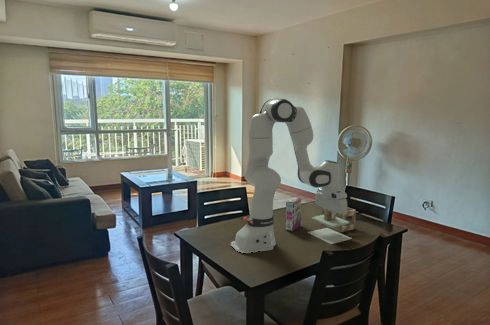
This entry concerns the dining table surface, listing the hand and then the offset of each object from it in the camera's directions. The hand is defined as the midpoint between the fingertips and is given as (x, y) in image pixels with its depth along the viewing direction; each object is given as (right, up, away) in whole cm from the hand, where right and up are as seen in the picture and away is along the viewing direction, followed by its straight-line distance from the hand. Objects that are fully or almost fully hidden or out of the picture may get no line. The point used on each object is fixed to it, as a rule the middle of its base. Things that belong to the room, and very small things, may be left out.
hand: (329, 217), depth 173 cm
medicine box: (+8, -8, +15) cm, 19 cm away
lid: (0, -2, 0) cm, 2 cm away
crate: (+8, -8, +15) cm, 19 cm away
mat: (0, -10, +2) cm, 10 cm away
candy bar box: (-17, -8, +14) cm, 23 cm away
